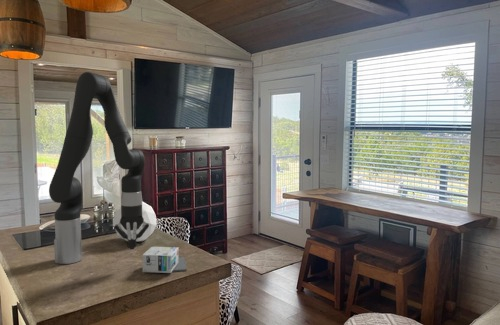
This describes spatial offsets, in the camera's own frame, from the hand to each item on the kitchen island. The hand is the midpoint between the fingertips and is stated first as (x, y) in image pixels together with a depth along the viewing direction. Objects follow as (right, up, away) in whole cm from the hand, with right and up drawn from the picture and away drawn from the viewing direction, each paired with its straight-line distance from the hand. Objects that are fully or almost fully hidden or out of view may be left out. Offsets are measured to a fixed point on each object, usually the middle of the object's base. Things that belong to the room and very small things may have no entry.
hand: (132, 248), depth 146 cm
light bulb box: (+5, -4, 0) cm, 6 cm away
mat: (+13, -7, +4) cm, 16 cm away
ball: (-9, -5, +36) cm, 37 cm away
